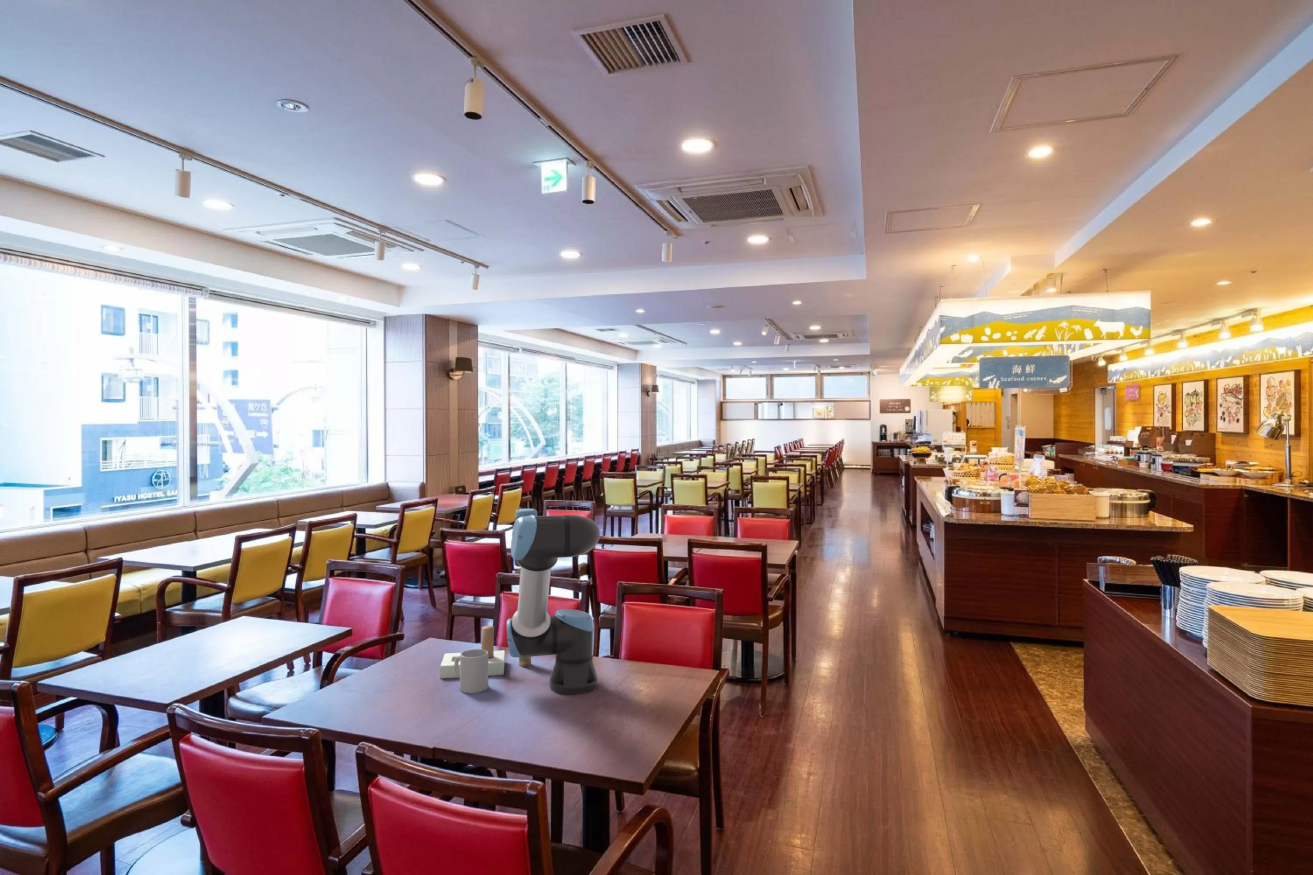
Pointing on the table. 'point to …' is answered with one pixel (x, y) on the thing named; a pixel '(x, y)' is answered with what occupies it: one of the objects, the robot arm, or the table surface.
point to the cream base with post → (487, 643)
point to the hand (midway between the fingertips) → (525, 615)
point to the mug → (472, 670)
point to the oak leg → (524, 661)
